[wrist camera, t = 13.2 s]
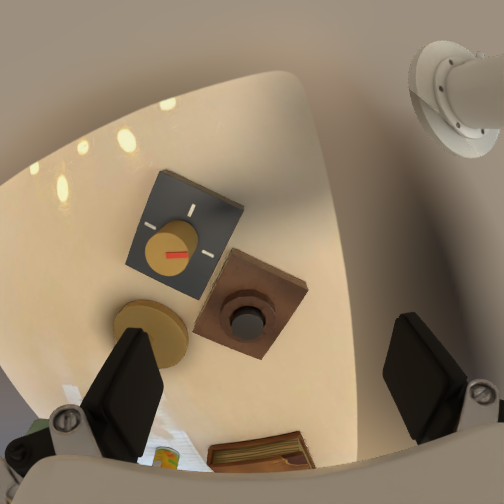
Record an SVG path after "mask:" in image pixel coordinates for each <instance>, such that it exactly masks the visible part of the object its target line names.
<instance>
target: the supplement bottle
mask: <svg viewBox="0 0 504 504" xmlns="http://www.w3.org/2000/svg"><path fill="white" fill-rule="evenodd" d="M178 461H179V453H178V452H176V451H175V450H173V449H170V448H167V447H160V448H157V450H156V453H155V456H154V460H153V464H152V466H153V467H161V468H168V469H177V466H178Z"/></svg>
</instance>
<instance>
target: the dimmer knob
mask: <svg viewBox="0 0 504 504" xmlns="http://www.w3.org/2000/svg"><path fill="white" fill-rule="evenodd" d="M197 245H198V236H197V233H196V231H195V229H194V228H193V227H192V226H191V225H190V224H189V223H187V222H185V221H182V220H174V221H171V222H169V223H167V224H166V225H165V226H164V227H162V228H161V229H160V230H159V231H158V232H157V233H156V234H155V235H153V236H152V237H151V238H150V239H149V241H148V242H147V245H146V248H145V256H146V259H147V262H148V264H149V265H150V267H151V268H152V269H153V270H154V271H156V272H157V273H159V274H161V275H164V276H174V275H177V274H179V273H181V272H182V271H183V270H184V269H185V268H186V266H187V264H188V263H189V261H190V259H191V257H192V255H193V254H194V252H195V250H196V248H197Z"/></svg>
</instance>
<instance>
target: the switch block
mask: <svg viewBox="0 0 504 504" xmlns="http://www.w3.org/2000/svg"><path fill="white" fill-rule="evenodd" d="M307 292H308V288H307V285H306V282H304V281H302V280H299V279H297V278H295V277H293V276H291V275H289V274H287V273H285V272H283V271H281V270H278V269H276V268H274V267H272V266H270V265H268V264H266V263H264V262H262V261H260V260H257V259H255V258H253V257H251V256H249V255H247V254H245V253H243V252H241V251H239V250H237V249H234V248H233V249H232V251H231V253H230V255H229V257H228V259H227V261H226V263H225V265H224V267H223V269H222V270H221V272H220V274H219V276H218V278H217V280H216V282H215V284H214V286H213V288H212V290H211V292H210V294H209V296H208V298H207V300H206V302H205V304H204V306H203V308H202V310H201V312H200V314H199V316H198V318H197V320H196V322H195V325H194V328H193V333H196V334H198V335H200V336H202V337H205V338H207V339H209V340H212V341H214V342H217V343H219V344H221V345H224V346H226V347H229V348H231V349H234V350H236V351H239V352H241V353H244V354H247V355H249V356H252V357H255V358H257V359H260V360H262V358H263V357H264V355H265V354H266V353H267V351H268V350H269V348H270V347H271V345H272V344H273V343H274V341H275V340H276V338H277V337H278V335H279V334H280V332H281V331H282V330H283V328H284V327H285V325H286V324H287V322H288V321H289V319H290V318H291V316H292V315H293V313H294V312H295V310H296V309H297V307H298V306H299V304H300V303H301V301H302V300H303V298H304V296H305V295H306V293H307ZM245 306H250V307H254V308H256V309H258V310H259V311H260V312H261V314H262V316H263V326H264V327H263V332H262V333H261V335H260V336H259V337H257V338H255V339H252V340H243V339H240V338H238V337H237V336H236V335H235V334H234V333H233V331H232V328H231V325H232V317H233V314H234V312H235V311H236V310H237V309H239V308H241V307H245Z"/></svg>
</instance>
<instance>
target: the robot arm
mask: <svg viewBox="0 0 504 504" xmlns="http://www.w3.org/2000/svg"><path fill="white" fill-rule="evenodd" d="M484 57H485V55H484V54H483V53H482V52H480V51H477V54H476V59H473V60H470V61H467V60H465V59H462V58H460V57H449V58H446V59H444V60H442V61H441V62H440V63H439V64H438V65H437V67H436V69H435V72H434V77H433V89H434V95H435V99H436V102H437V105H438V107H439V110H440V112H441V114H442V116H443V117H444V119H445V121H446V122H447V123H448V125H449V126H450V127H451V128H452V129H453V130H454V131H455V132H456V133H458V134H459V135H461V136H463V137H465V138H468V139H479V138H482V137H484V136H485V135H486V134H487V133H488V132H489V131H490V129H504V54H501V55H497V56H493V57H487V58H485V59H484ZM383 378H384V380H385V382H386V384H387V387H388V389H389V391H390V393H391V395H392V397H393V399H394V401H395V403H396V405H397V407H398V410H399V412H400V414H401V416H402V418H403V420H404V423H405V425H406V427H407V430H408V432H409V434H410V436H411V438H412V439H413V440H416V442H417V444H418V446H415V447H412V448H408V449H405V450H401V451H398V452H394V453H391V454H387V455H384V456H380V457H376V458H371V459H367V460H362V461H357V462H352V463H347V464H341V465H336V466H329V467H323V468H315V469H307V470H298V471H286V472H270V473H213V472H197V471H186V470H177V469H168V468H161V467H153V466H147V465H141V464H136V463H137V460H138V457H142V456H143V453H144V450H145V446H146V443H147V440H148V437H149V433H150V430H151V427H152V424H153V421H154V417H155V414H156V411H157V408H158V405H159V402H160V399H161V396H162V393H163V388H164V385H163V381H162V378H161V375H160V372H159V369H158V366H157V362H156V359H155V356H154V353H153V349H152V346H151V343H150V339H149V336H148V333H147V332H144V331H143V329H142V328H132V327H128V328H126V329H125V331H124V333H123V334H122V336H121V337H120V339H119V340H118V342H117V344H116V345H115V347H114V348H113V350H112V352H111V353H110V355H109V357H108V358H107V360H106V362H105V363H104V365H103V366H102V368H101V370H100V372H99V373H98V375H97V377H96V378H95V380H94V382H93V383H92V385H91V387H90V389H89V390H88V392H87V394H86V396H85V397H84V399H83V401H82V403H81V405H80V407H79V406H77V405H74V404H67V405H63V406H60V407H58V408H57V409H56V410H54V411H53V413H52V414H51V415H50V418H49V427H47V428H44V429H42V430H39V431H36V432H34V433H31V434H28V435H26V436H23V437H20V438H17V439H15V440H13V441H12V442H10V443H9V445H8V446H7V448H6V451H5V458H4V459H3V458H2V457H1V456H0V504H504V400H501V399H500V396H499V391H498V389H497V387H496V386H495V385H494V384H493V383H491V382H490V381H487V380H484V379H477V380H473V381H472V382H470V383H468V382H467V381H466V380H467V376H466V375H465V373H464V372H463V371H462V369H461V368H460V367H459V366H458V364H457V363H456V361H455V360H454V359H453V358H452V356H451V355H450V354H449V353H448V351H447V350H446V349H445V347H444V346H443V345H442V344H441V343H440V341H439V340H438V339H437V338H436V336H435V335H434V334H433V333H432V332H431V330H430V329H429V328H428V327H427V326H426V324H425V323H424V322H423V321H422V320H421V319H420V317H419V316H418V315H417V314H416V313H415V312H410V313H404V314H401V315H400V316H399V318H397V319H396V320H395V324H394V329H393V333H392V337H391V341H390V345H389V349H388V353H387V357H386V361H385V364H384V368H383Z"/></svg>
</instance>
